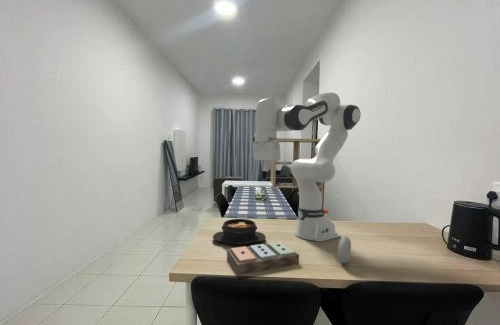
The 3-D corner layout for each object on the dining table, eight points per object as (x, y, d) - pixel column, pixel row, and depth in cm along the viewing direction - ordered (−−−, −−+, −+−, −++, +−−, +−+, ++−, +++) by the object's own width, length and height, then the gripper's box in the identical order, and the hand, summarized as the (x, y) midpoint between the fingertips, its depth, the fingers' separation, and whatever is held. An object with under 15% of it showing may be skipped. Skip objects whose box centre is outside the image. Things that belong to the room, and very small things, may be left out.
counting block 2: (263, 251, 99) (263, 243, 99) (275, 263, 89) (275, 253, 89) (249, 253, 97) (250, 244, 97) (260, 265, 87) (260, 256, 87)
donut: (346, 269, 88) (347, 242, 87) (336, 266, 90) (337, 240, 89) (351, 259, 96) (352, 234, 96) (342, 256, 98) (343, 232, 98)
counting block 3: (280, 249, 102) (280, 240, 102) (294, 260, 92) (294, 251, 92) (267, 251, 100) (268, 242, 100) (280, 262, 90) (280, 253, 90)
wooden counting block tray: (281, 250, 104) (282, 242, 104) (298, 263, 91) (299, 254, 91) (226, 258, 95) (227, 249, 95) (237, 274, 82) (237, 264, 82)
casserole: (209, 247, 105) (210, 228, 105) (215, 233, 124) (215, 217, 123) (267, 248, 105) (267, 229, 105) (264, 234, 124) (264, 217, 123)
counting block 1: (245, 254, 96) (245, 245, 96) (255, 266, 86) (255, 256, 86) (230, 256, 94) (230, 247, 94) (239, 269, 84) (239, 259, 84)
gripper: (285, 136, 92) (284, 173, 92) (263, 139, 111) (262, 169, 112) (270, 136, 90) (269, 173, 90) (250, 138, 109) (249, 169, 109)
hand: (265, 171), depth 101 cm, fingers closed
